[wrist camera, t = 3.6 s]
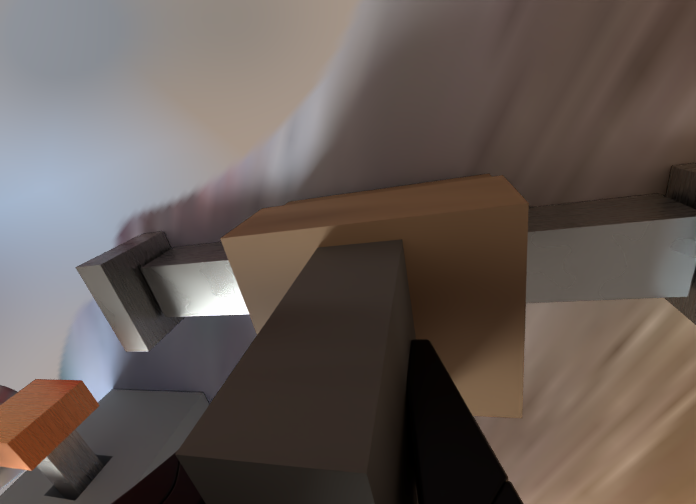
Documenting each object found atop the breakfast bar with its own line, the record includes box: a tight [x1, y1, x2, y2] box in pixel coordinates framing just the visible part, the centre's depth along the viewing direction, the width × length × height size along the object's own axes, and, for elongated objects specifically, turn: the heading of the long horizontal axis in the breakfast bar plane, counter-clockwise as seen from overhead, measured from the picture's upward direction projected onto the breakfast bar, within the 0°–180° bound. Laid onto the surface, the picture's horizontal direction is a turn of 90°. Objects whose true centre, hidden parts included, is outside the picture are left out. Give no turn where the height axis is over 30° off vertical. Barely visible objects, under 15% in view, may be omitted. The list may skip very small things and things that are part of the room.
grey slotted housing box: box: [0, 389, 209, 504], centre depth 18 cm, size 6×7×7 cm
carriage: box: [175, 174, 529, 504], centre depth 8 cm, size 6×7×9 cm
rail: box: [76, 163, 696, 352], centre depth 11 cm, size 4×21×3 cm, turn 103°
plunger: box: [0, 379, 104, 501], centre depth 15 cm, size 7×3×3 cm, turn 13°
